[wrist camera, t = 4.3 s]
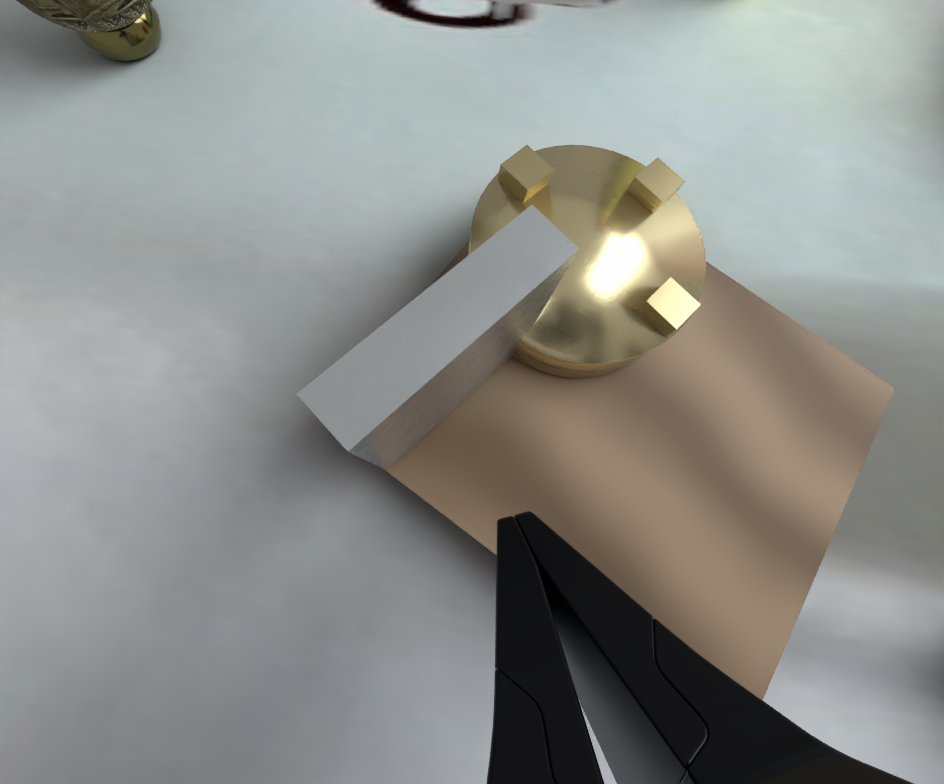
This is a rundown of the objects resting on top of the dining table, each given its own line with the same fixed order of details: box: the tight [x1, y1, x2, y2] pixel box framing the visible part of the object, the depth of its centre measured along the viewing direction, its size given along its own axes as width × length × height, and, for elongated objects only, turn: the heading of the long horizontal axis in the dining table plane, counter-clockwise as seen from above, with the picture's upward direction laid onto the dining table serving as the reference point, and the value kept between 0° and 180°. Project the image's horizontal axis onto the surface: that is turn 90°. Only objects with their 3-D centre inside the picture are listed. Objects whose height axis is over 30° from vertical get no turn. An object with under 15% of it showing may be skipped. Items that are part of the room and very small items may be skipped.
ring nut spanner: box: [296, 145, 706, 470], centre depth 13 cm, size 16×9×7 cm, turn 134°
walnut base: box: [316, 241, 895, 700], centre depth 17 cm, size 16×19×2 cm
